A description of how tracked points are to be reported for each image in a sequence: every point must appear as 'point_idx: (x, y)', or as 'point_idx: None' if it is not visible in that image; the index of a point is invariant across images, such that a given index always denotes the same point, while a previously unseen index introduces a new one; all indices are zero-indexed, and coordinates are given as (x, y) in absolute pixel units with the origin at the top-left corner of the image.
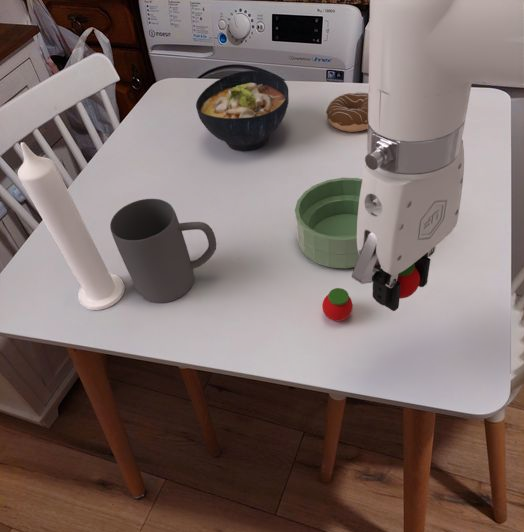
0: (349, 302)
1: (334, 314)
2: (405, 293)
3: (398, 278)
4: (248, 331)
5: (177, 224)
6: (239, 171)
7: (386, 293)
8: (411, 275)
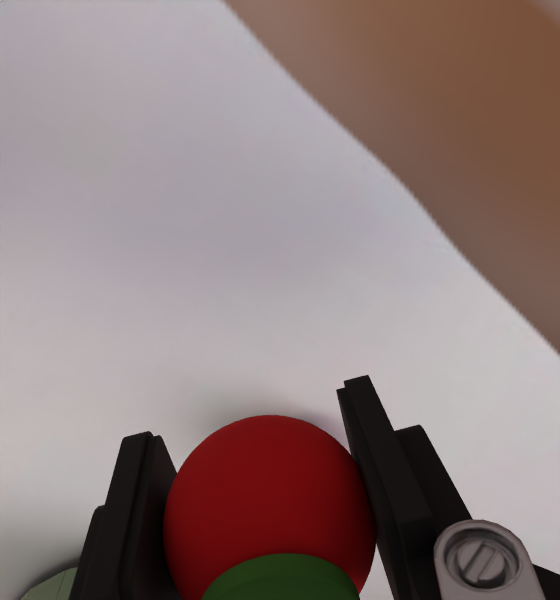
0: None
1: None
2: (311, 438)
3: (337, 550)
4: (523, 505)
5: None
6: None
7: (450, 488)
8: (258, 538)
